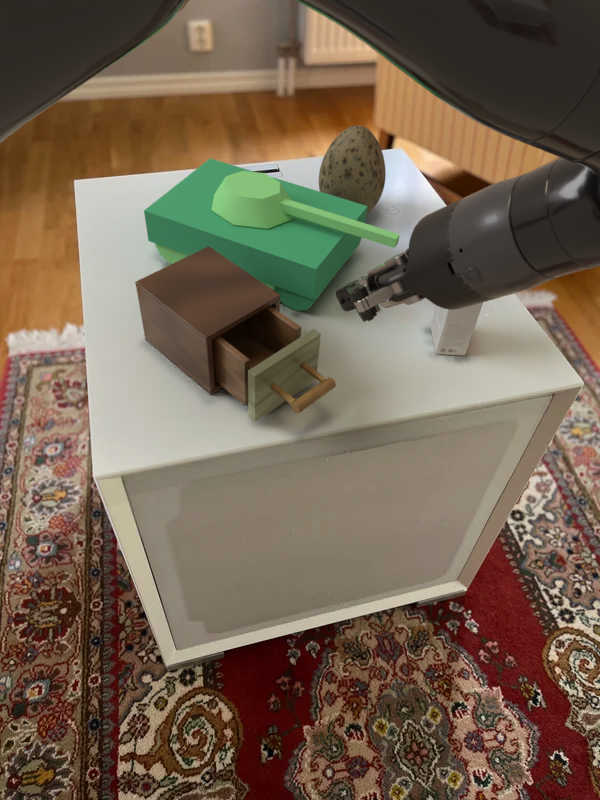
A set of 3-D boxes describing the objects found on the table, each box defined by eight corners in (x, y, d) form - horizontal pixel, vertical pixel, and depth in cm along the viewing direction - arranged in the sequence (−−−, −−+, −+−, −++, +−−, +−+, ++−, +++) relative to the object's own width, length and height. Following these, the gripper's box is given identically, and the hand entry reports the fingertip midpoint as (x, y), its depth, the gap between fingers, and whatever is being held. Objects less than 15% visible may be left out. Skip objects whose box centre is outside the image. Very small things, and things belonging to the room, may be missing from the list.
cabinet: (278, 352, 84) (280, 294, 77) (210, 395, 79) (206, 337, 72) (212, 303, 91) (208, 245, 83) (145, 339, 85) (134, 281, 78)
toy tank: (375, 263, 78) (140, 186, 88) (362, 337, 87) (151, 260, 97) (422, 198, 89) (208, 135, 98) (407, 269, 98) (213, 206, 108)
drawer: (345, 401, 78) (352, 355, 72) (284, 446, 73) (286, 401, 67) (249, 330, 86) (249, 283, 80) (188, 366, 81) (183, 319, 75)
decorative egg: (390, 211, 109) (405, 125, 98) (359, 239, 103) (371, 150, 92) (337, 191, 113) (346, 105, 102) (303, 217, 107) (309, 129, 96)
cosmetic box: (466, 356, 86) (490, 285, 77) (434, 354, 86) (455, 283, 77) (459, 326, 90) (481, 255, 81) (429, 325, 90) (448, 253, 81)
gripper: (519, 165, 47) (372, 236, 62) (409, 230, 41) (273, 292, 55) (557, 257, 49) (405, 304, 64) (457, 333, 42) (313, 367, 57)
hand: (344, 298), depth 59 cm, fingers closed
